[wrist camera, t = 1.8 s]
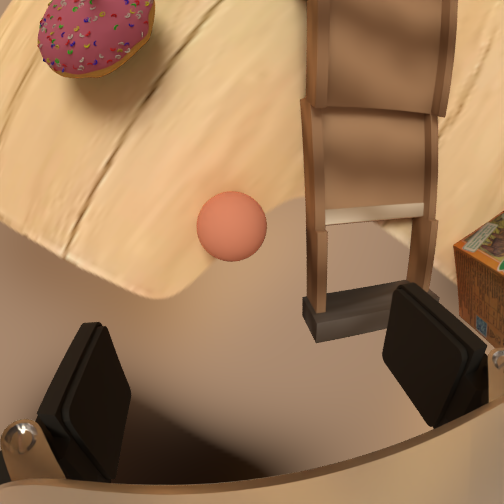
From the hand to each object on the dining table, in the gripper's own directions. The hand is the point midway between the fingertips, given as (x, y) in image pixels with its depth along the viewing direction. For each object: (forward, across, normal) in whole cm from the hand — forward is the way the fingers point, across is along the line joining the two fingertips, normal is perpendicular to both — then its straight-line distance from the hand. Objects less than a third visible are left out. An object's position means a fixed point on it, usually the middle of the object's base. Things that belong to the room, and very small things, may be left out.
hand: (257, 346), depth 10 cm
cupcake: (+17, +8, -16) cm, 24 cm away
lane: (+17, -12, -6) cm, 21 cm away
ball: (+17, 0, 0) cm, 17 cm away
